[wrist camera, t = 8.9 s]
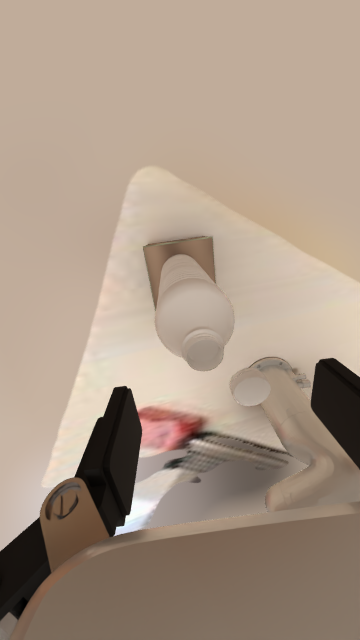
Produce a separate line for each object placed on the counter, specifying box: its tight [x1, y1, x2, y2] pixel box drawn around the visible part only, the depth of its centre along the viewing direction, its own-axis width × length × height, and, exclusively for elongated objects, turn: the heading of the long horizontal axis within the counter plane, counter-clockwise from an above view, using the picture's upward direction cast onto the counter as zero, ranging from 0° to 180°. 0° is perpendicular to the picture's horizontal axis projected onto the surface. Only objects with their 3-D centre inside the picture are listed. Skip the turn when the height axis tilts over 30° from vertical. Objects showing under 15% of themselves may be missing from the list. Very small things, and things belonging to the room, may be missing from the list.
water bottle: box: [155, 254, 271, 406], centre depth 24 cm, size 9×6×25 cm
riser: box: [143, 236, 216, 312], centre depth 39 cm, size 11×11×8 cm
